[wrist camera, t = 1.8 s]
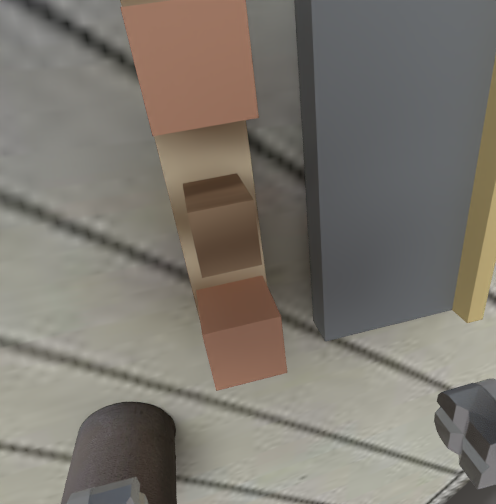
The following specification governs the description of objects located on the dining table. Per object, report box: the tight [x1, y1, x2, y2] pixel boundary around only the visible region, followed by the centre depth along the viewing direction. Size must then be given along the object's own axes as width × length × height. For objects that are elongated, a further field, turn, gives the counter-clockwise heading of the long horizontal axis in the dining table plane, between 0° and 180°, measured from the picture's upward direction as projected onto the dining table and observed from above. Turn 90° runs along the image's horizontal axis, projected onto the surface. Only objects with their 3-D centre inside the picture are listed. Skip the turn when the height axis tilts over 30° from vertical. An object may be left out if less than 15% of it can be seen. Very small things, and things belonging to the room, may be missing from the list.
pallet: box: [120, 0, 267, 323], centre depth 24 cm, size 24×6×9 cm, turn 8°
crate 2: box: [196, 275, 287, 391], centre depth 27 cm, size 5×5×5 cm
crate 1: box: [120, 0, 259, 136], centre depth 18 cm, size 5×5×5 cm
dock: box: [295, 0, 496, 341], centre depth 28 cm, size 30×14×5 cm, turn 8°
